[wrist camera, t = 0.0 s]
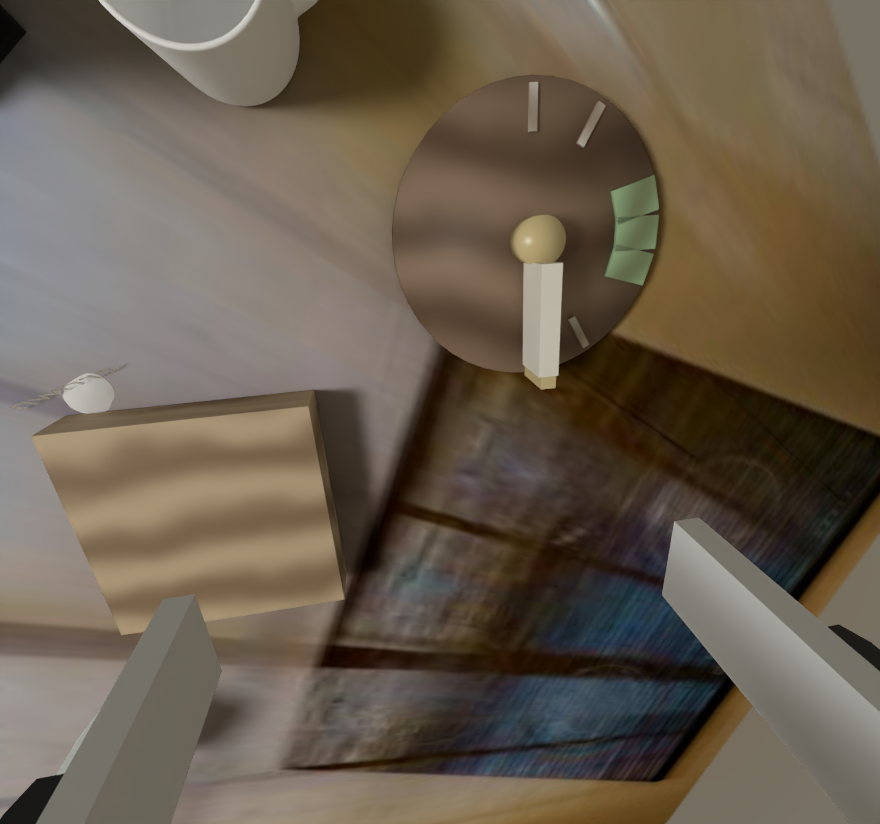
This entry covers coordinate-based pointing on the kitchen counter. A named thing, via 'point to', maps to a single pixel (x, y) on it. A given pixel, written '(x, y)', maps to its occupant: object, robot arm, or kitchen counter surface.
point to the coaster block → (201, 505)
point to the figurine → (84, 394)
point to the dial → (523, 216)
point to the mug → (221, 42)
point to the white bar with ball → (540, 294)
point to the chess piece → (8, 33)
